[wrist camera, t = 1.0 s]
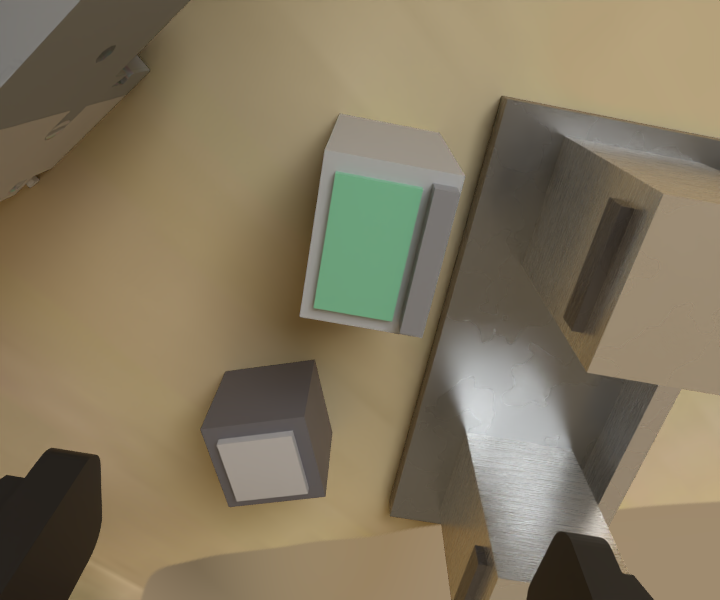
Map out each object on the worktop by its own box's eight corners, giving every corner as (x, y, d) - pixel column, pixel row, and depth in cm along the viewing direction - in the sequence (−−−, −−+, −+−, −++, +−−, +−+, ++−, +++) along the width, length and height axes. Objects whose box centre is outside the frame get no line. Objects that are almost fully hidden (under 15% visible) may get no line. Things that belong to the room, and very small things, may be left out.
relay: (225, 370, 31) (198, 435, 26) (314, 358, 30) (303, 422, 25) (249, 441, 33) (226, 513, 28) (332, 431, 32) (324, 502, 28)
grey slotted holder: (502, 95, 24) (579, 138, 15) (743, 143, 25) (960, 212, 16) (389, 500, 35) (394, 672, 25) (561, 527, 35) (626, 704, 26)
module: (339, 113, 25) (323, 154, 17) (439, 132, 25) (468, 181, 17) (319, 240, 27) (296, 326, 19) (410, 256, 28) (423, 347, 20)
